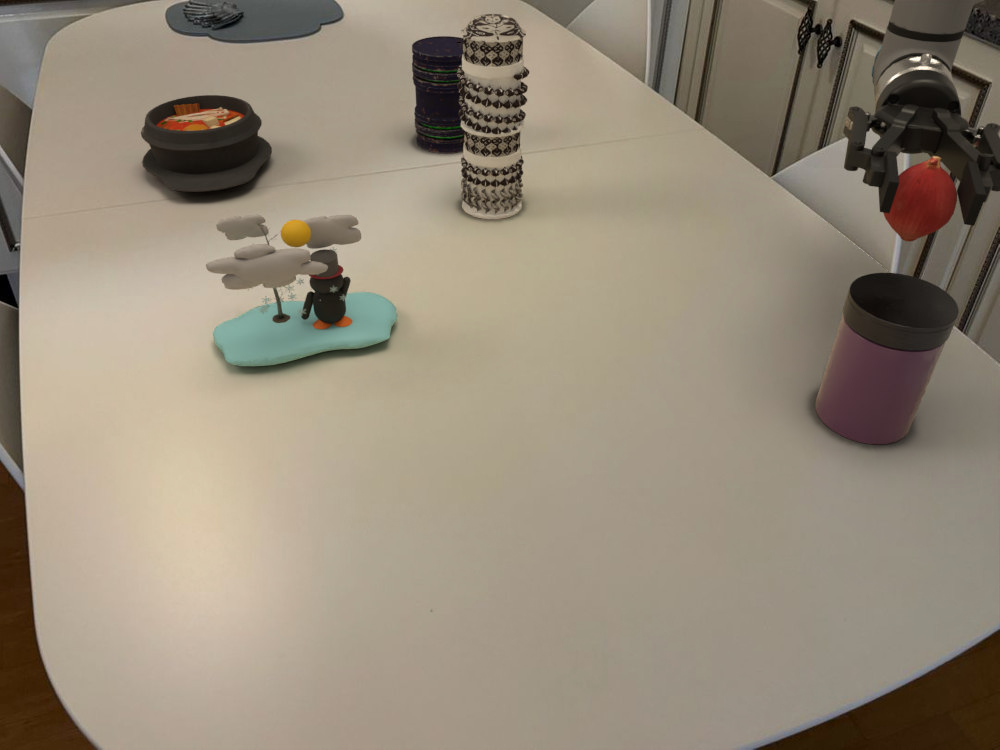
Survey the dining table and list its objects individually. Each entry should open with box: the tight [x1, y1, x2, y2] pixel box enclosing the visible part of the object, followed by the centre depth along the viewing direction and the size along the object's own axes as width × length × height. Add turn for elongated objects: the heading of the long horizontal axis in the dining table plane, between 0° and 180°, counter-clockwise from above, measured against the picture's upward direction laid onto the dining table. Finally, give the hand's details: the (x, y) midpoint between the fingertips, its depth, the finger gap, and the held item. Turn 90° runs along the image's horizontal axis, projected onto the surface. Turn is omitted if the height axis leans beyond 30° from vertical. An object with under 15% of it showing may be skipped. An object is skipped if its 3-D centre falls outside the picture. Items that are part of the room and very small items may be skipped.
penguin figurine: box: [205, 214, 398, 367], centre depth 89 cm, size 20×11×15 cm, turn 106°
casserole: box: [140, 94, 273, 193], centre depth 126 cm, size 25×19×8 cm
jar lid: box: [842, 272, 960, 351], centre depth 77 cm, size 9×9×2 cm
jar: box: [814, 314, 946, 445], centre depth 81 cm, size 9×9×13 cm
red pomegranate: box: [882, 156, 958, 242], centre depth 74 cm, size 6×6×8 cm
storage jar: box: [411, 35, 465, 154], centre depth 133 cm, size 10×10×15 cm
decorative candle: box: [457, 13, 530, 220], centre depth 112 cm, size 9×9×25 cm
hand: (931, 203), depth 69 cm, fingers closed on red pomegranate, 6 cm apart
